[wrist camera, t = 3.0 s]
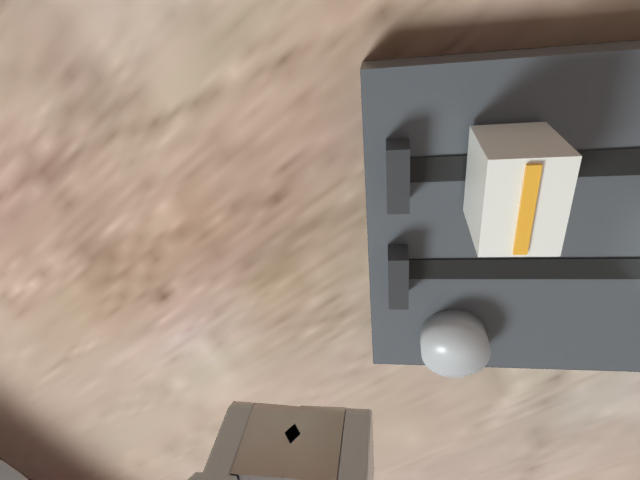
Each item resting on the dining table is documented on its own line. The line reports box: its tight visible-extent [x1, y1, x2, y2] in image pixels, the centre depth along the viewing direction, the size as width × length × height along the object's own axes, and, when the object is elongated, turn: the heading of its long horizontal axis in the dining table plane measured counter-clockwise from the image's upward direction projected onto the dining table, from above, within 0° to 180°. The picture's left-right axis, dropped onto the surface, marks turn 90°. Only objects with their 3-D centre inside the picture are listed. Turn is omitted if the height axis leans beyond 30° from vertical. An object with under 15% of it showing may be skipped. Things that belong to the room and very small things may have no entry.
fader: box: [463, 122, 582, 257], centre depth 18 cm, size 4×3×4 cm
